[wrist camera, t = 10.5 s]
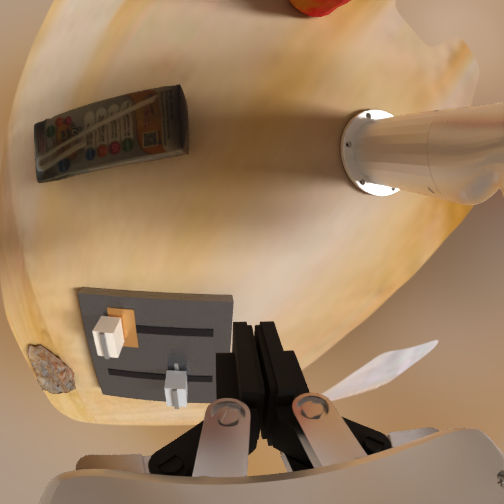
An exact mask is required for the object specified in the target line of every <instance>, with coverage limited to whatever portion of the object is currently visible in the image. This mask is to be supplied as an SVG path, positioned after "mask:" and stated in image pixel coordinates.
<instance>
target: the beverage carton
mask: <svg viewBox="0 0 504 504" xmlns="http://www.w3.org/2000/svg"><path fill="white" fill-rule="evenodd" d="M34 142H35V162H36V177H37V182H38V183H43V182H51V181H55V180H61V179H64V178H68V177H71V176H75V175H79V174H83V173H87V172H92V171H96V170H101V169H106V168H111V167H117V166H122V165H127V164H133V163H138V162H144V161H150V160H156V159H162V158H168V157H173V156H178V155H183V154H188V150H189V129H188V111H187V103H186V99H185V96H184V93H183V90H182V88H181V86H180V84H179V85H176V86H165V87H160V88H154V89H148V90H143V91H138V92H134V93H129V94H125V95H121V96H117V97H113V98H110V99H106V100H102V101H98V102H95V103H92V104H88V105H85V106H82V107H79V108H76V109H73V110H70V111H67V112H65V113H62V114H59V115H57V116H54V117H53V118H51V119H46V120H44V121H42V122H39V123H36V124H35V125H34Z"/></svg>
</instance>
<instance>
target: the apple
mask: <svg viewBox="0 0 504 504" xmlns="http://www.w3.org/2000/svg"><path fill="white" fill-rule="evenodd" d="M289 1H290V2H291V3H292V5H293V6H294V7H295V8H297V9H298V10H299V11H301V12H302V13H304V14H307V15H309V16H312V17H322V16H325V15H328V14H330V13H331V12H332V11H334V10H335V9H336V8H338V7H340V6H342V5H344V4H346V3H348V2H349V1H351V0H289Z"/></svg>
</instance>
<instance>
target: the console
mask: <svg viewBox="0 0 504 504" xmlns="http://www.w3.org/2000/svg"><path fill="white" fill-rule="evenodd" d="M78 297H79V303H80V309H81V314H82V319H83V324H84V328H85V333H86V337H87V341H88V345H89V349H90V353H91V357H92V360H93V364H94V367H95V371H96V374H97V377H98V381H99V384H100V387H101V390H102V393H103V394H105V395H111V396H118V397H126V398H134V399H143V400H154V401H166V396H165V389H164V387H165V379H166V372H167V370H172V371H186V374H187V403H212V402H214V401H216V400H217V398H216V353H230V345H231V330H232V315H233V297H232V295H209V294H182V293H161V292H144V291H128V290H114V289H100V288H88V287H82V289H81V290H80V291H79V292H78ZM101 316H109V317H120V318H121V322H122V329H123V335H124V344H123V346H122V349H121V352H120V354H119V357H118V358H113V357H110V358H109V359H105V357H104V356H98V354H97V349H96V345H95V341H94V337H93V332H92V331H93V329H94V327H95V326H96V324H97V322H98V321H99V319H100V317H101Z"/></svg>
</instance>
